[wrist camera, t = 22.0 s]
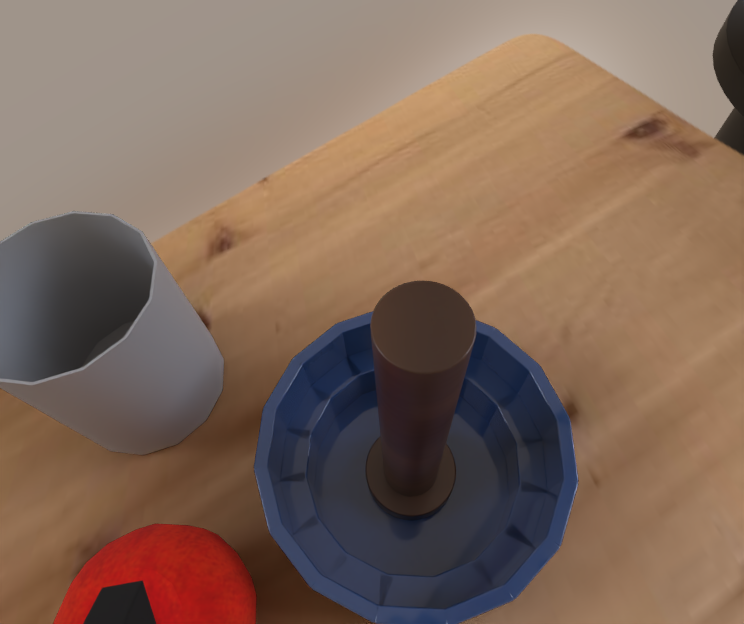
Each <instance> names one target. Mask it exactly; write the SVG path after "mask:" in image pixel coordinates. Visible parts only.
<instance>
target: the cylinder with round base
mask: <svg viewBox="0 0 744 624" xmlns="http://www.w3.org/2000/svg"><path fill="white" fill-rule="evenodd" d="M370 328H371V340H372V351H373V361H374V372H375V382H376V393H377V403H378V414H379V424H380V435H381V436H380V437H379V438H378V439H377V440H376V441H375V442H374V444H373V445H372V447H371V449H370V451H369V453H368V456H367V460H366V479H367V484H368V487H369V490H370V493H371V495H372V497H373V499H374V500H375V502H376V503H377V504H378V505H379V506H380V507H381V508H382V509H383V510H384V511H386V512H387V513H389V514H390V515H392V516H394V517H397V518H400V519H405V520H418V519H423V518H426V517H428V516H431V515H433V514H434V513H436V512H437V511H438V510H439V509H441V508H442V507H443V505H444V504H445V503H446V502H447V500H448V498H449V496H450V494H451V492H452V490H453V487H454V484H455V479H456V464H455V460H454V457H453V454H452V452H451V450H450V448H449V446H448V445H447V443H446V442H447V438H448V434H449V431H450V427H451V424H452V420H453V417H454V413H455V409H456V406H457V402H458V399H459V395H460V392H461V388H462V384H463V381H464V377H465V374H466V370H467V367H468V363H469V360H470V356H471V352H472V349H473V345H474V342H475V338H476V320H475V316H474V314H473V311H472V309H471V307H470V306H469V304H468V303H467V301H466V300H465V299H464V298H463V297H462V296H461V295H460V294H459V293H457V292H456V291H455V290H453V289H451V288H450V287H448V286H445V285H443V284H440V283H437V282H431V281H413V282H408V283H404V284H402V285H399V286H397V287H395V288H393V289H392V290H390V291H389V292H387V293H386V294H385V295H384V296H383V297H382V298H381V299H380V301H379V302H378V303H377V305H376V307H375V309H374V311H373V314H372V317H371V324H370Z"/></svg>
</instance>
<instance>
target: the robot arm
mask: <svg viewBox="0 0 744 624" xmlns="http://www.w3.org/2000/svg"><path fill="white" fill-rule="evenodd" d="M83 624H156V621H155V618H154V615H153V611H152V608H151V605H150V602H149V599H148V596H147V592H146V589H145V586H144V583H143V580H141V581H136V582H131V583H125V584H120V585H114V586H109V587H103V588H102V589H101V591H100V593H99V594H98V596H97V598H96V600H95V602H94V604H93V606H92V608H91V609H90V611H89V613H88V615H87V617H86V619H85V621H84V623H83Z"/></svg>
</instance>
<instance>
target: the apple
mask: <svg viewBox="0 0 744 624" xmlns="http://www.w3.org/2000/svg"><path fill="white" fill-rule="evenodd" d="M141 580H143V583H144V586H145V589H146V592H147V596H148V599H149V602H150V605H151V608H152V611H153V615H154V618H155V621H156V624H256V602H257V595H256V592H255V588H254V584H253V581H252V577H251V575H250V574H249V572H248V570H247V569H246V567H245V565H244V564H243V562H242V560H241V558H240V557H239V555H238V553H237V552H236V551H234V550H233V549H232V548H231V547H230V546H229V545H228V544H227V543H226V542H225V541H224V540H223V539H222V538H221V537H220V536H219V535H217V534H215V533H213V532H211V531H208V530H206V529H204V528H199V527H193V526H188V525H172V524H152V525H149V526H146V527H143V528H140V529H136V530H134V531H132V532H130V533H128V534H126V535H124V536H122V537H120V538H118V539H116V540H114V541H112V542H110V543H108V544H107V545H106V546H105V547H104V548H102V549H101V550H100V551H99V552H98V553H97V554H96V555H94V556H93V557H92V558H91V559H90V560H89V561H87V562H86V564H85V565H84V566H83V568H82V569H81V571H80V572H79V573H78V575H77V576H76V577H75V579H74V580H73V582H72V583H71V585H70V587H69V589H68V591H67V593H66V596H65V598H64V600H63V602H62V605H61V607H60V609H59V611H58V613H57V616H56V618H55V620H54V623H53V624H83V623H84V621H85V619H86V617H87V615H88V613H89V611H90V609H91V608H92V606H93V604H94V602H95V600H96V598H97V596H98V594H99V593H100V591H101V589H102V588H103V587H109V586H114V585H120V584H125V583H131V582H136V581H141Z"/></svg>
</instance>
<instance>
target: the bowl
mask: <svg viewBox="0 0 744 624" xmlns="http://www.w3.org/2000/svg"><path fill="white" fill-rule="evenodd" d="M372 314H373V312H369V313H366V314H363V315H360V316H357V317H354V318H351V319H348V320H345V321H342V322H339V323H337V324H335V325H334V326H333V327H331V328H330V329H329V330H327V331H326V332H325V333H324V334H322V335H321V336H320V337H319V338H317V339H316V340H315V341H314V342H312V343H311V344H310V345H309V346H307V347H306V348H305V349H304V350H302V351H301V352H300V353H298V354H297V355H296V356H295V357H294V358H293V359H292V360H291V362H290V363H289V365H288V367H287V369H286V370H285V372H284V374H283V375H282V377H281V379H280V380H279V382H278V384H277V385H276V387H275V389H274V390H273V392H272V394H271V396H270V397H269V399H268V401H267V402H266V404H265V406H264V408H263V412H262V418H261V425H260V431H259V437H258V444H257V450H256V456H255V463H254V473H255V477H256V481H257V485H258V489H259V493H260V497H261V502H262V506H263V510H264V514H265V518H266V522H267V527H268V531H269V532H270V535H271V536H272V537H273V539H274V540H275V541H276V543H277V544H278V545H279V547H280V548H281V549H282V551H283V552H284V553H285V555H286V556H287V557H288V559H289V560H290V561H291V563H292V564H293V565H294V567H295V568H296V570H297V571H298V572H299V574H300V575H301V576H302V578H303V579H304V580H305V582H306V583H307V584H308V586H309V587H310V588H312V589H313V590H314V591H316V592H318V593H320V594H321V595H323V596H325V597H327V598H329V599H331V600H332V601H334V602H336V603H338V604H340V605H341V606H343V607H345V608H347V609H349V610H350V611H352V612H354V613H356V614H358V615H360V616H361V617H363V618H365V619H367V620H369V621H370V622H372V623H376V624H459V623H462V622H464V621H466V620H469V619H471V618H473V617H476V616H478V615H481V614H483V613H485V612H488V611H490V610H493V609H495V608H497V607H500V606H502V605H504V604H507V603H509V602H512V601H513V600H514V599H516V598H517V597H518V596H519V595H520V593H521V592H522V591H523V590H524V589H525V588H526V587H527V585H528V584H529V583H530V582H531V581H532V580H533V579H534V577H535V576H536V575H537V574H538V573H539V572H540V570H541V569H542V568H543V567H544V566H545V565H546V564H547V562H548V561H549V560H550V559H551V558H552V557H553V556H554V554H555V553H556V552H557V551H558V550H559V548H560V546H561V544H562V541H563V537H564V534H565V530H566V526H567V523H568V519H569V516H570V512H571V509H572V505H573V502H574V498H575V495H576V491H577V488H578V481H579V480H578V473H577V465H576V458H575V450H574V443H573V435H572V428H571V421H570V418H569V416H568V414H567V412H566V410H565V409H564V407H563V405H562V403H561V402H560V400H559V398H558V396H557V394H556V393H555V391H554V389H553V387H552V386H551V384H550V382H549V380H548V378H547V377H546V375H545V373H544V371H543V370H542V368H541V366H540V365H539V364H538V363H537V362H535V361H534V360H533V359H532V358H531V357H530V356H528V355H527V354H526V353H525V352H524V351H522V350H521V349H520V348H519V347H518V346H517V345H515V344H514V343H513V342H512V341H511V340H510V339H508V338H507V337H506V336H505V335H504V334H502V333H501V332H500V331H499V330H498V329H496V328H495V327H492V326H490V325H487V324H484V323H482V322H479V321H477V320H476V338H475V342H474V345H473V349H472V352H471V356H470V360H469V363H468V367H467V370H466V374H465V377H464V381H463V384H462V388H461V392H460V395H459V399H458V402H457V406H456V409H455V413H454V417H453V420H452V424H451V427H450V431H449V434H448V438H447V442H446V443H447V445H448V446H449V448H450V450H451V452H452V454H453V457H454V460H455V464H456V479H455V484H454V487H453V490H452V492H451V494H450V496H449V498H448V500H447V502H446V503H445V504H444V505H443V507H442V508H441V509H439V510H438V511H437V512H436V513H434V514H433V515H431V516H428V517H426V518H423V519H418V520H405V519H400V518H397V517H394V516H392V515H390V514H389V513H387V512H386V511H384V510H383V509H382V508H381V507H380V506H379V505H378V504H377V503H376V502H375V500H374V499H373V497H372V495H371V493H370V490H369V487H368V484H367V479H366V460H367V456H368V453H369V451H370V449H371V447H372V445H373V444H374V442H375V441H376V440H377V439H378V438H379V437H380V436H381V435H380V424H379V414H378V403H377V393H376V382H375V372H374V361H373V351H372V340H371V328H370V324H371V317H372Z"/></svg>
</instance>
